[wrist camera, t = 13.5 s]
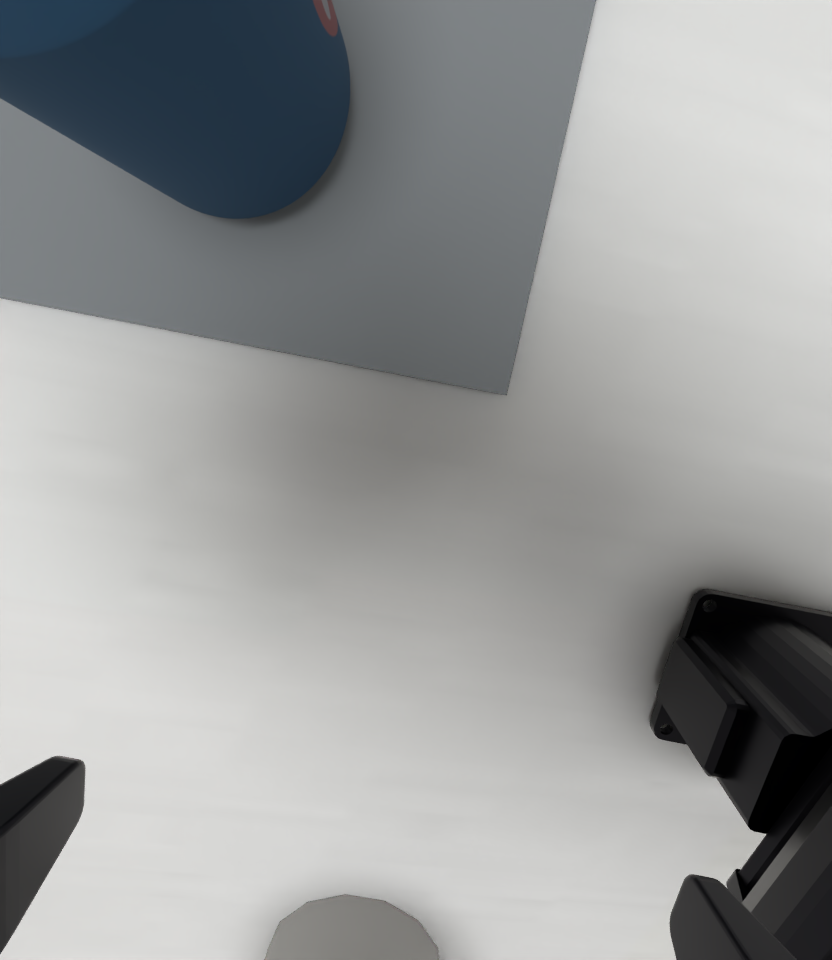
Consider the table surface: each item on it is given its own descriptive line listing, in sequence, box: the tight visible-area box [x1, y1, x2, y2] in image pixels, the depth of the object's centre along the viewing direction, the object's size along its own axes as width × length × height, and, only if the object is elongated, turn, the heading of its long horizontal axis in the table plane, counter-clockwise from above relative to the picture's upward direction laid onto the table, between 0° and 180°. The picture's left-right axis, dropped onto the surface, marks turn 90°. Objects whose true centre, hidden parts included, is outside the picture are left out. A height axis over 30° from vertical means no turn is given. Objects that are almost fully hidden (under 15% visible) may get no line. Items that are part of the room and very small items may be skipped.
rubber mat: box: [0, 0, 596, 395], centre depth 17 cm, size 20×14×1 cm
